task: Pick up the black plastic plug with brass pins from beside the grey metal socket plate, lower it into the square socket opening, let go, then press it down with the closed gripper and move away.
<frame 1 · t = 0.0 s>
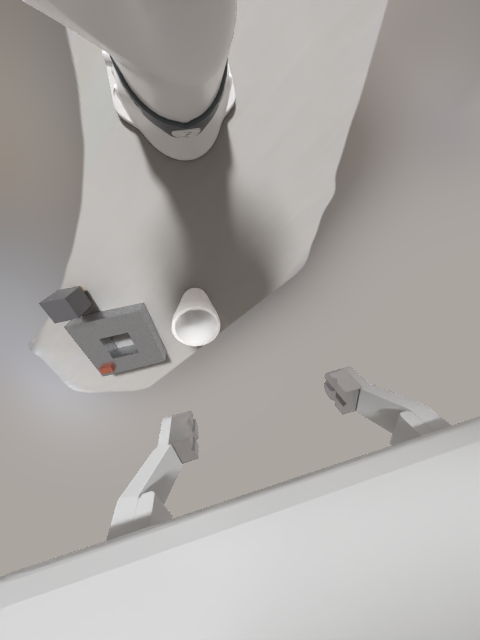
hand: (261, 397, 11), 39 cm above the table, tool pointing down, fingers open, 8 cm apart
socket: (124, 336, 50), on the table
plug: (78, 294, 42), on the table
foam cup: (195, 298, 49), on the table
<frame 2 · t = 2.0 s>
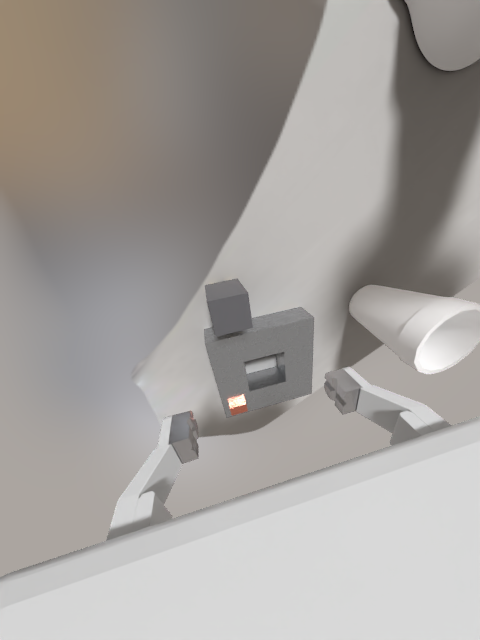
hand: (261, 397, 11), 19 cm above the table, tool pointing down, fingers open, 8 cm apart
socket: (259, 357, 34), on the table
plug: (223, 293, 28), on the table
foam cup: (364, 301, 34), on the table
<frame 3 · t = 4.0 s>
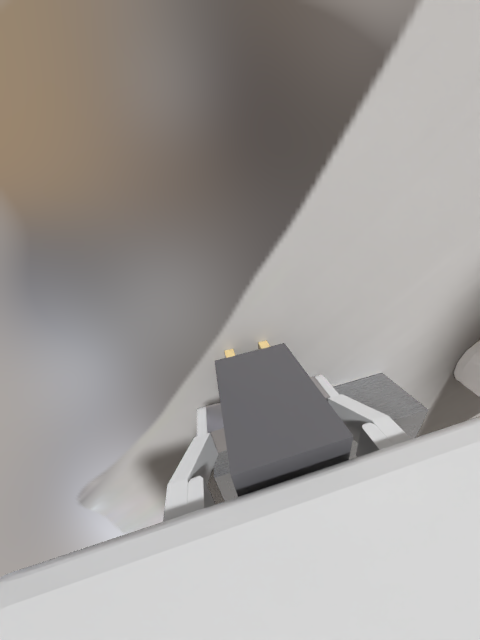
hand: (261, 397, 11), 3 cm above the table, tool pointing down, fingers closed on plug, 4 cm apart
socket: (301, 448, 21), on the table
plug: (248, 363, 14), on the table, touching gripper
foam cup: (479, 356, 20), on the table
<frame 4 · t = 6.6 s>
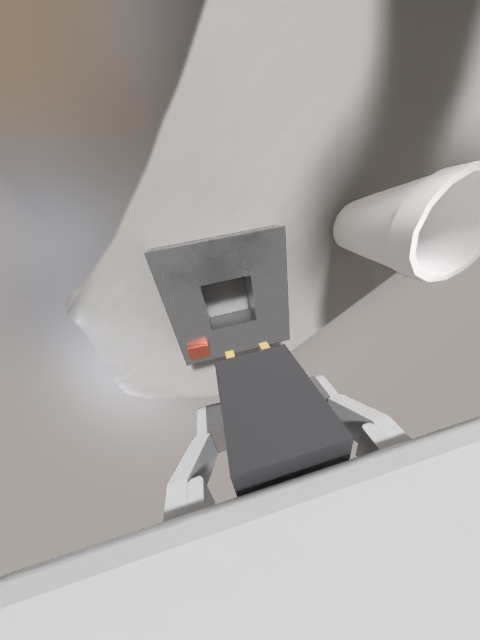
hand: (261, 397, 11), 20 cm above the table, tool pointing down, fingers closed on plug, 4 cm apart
socket: (226, 294, 29), on the table
plug: (249, 364, 14), point 17 cm above the table, touching gripper
foam cup: (351, 225, 28), on the table
when the fingers open (6 cm above the table, at t = 9.1 s): plug drops 2 cm, resting in socket.
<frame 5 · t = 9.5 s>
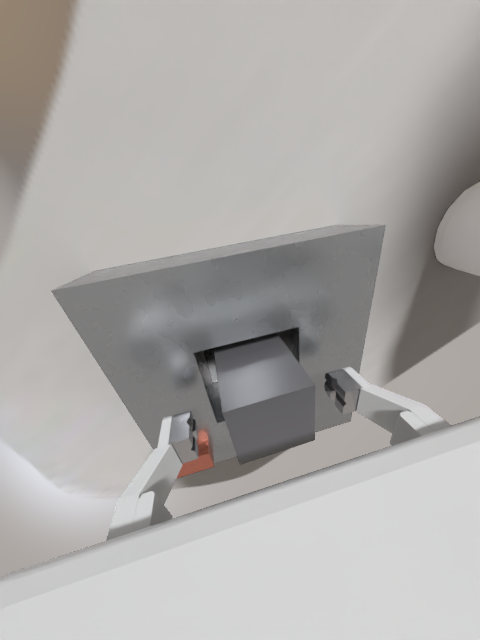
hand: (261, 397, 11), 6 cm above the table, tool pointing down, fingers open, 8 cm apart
socket: (241, 346, 16), on the table
plug: (242, 345, 16), resting in socket
foam cup: (466, 226, 16), on the table
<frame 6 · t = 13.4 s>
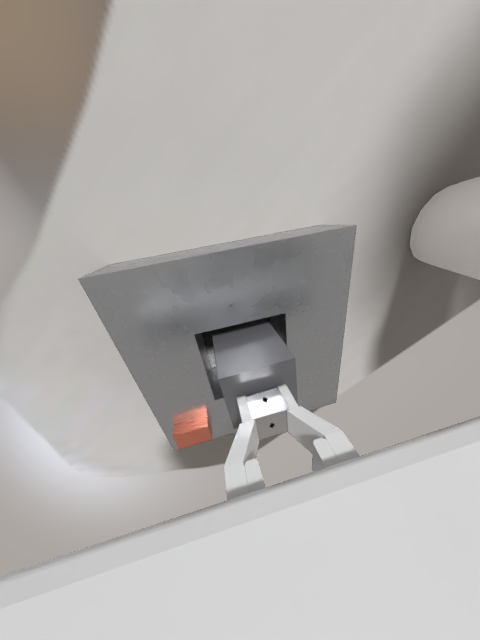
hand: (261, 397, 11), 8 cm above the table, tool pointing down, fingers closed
socket: (237, 333, 18), on the table
plug: (238, 333, 18), resting in socket
foam cup: (438, 226, 18), on the table
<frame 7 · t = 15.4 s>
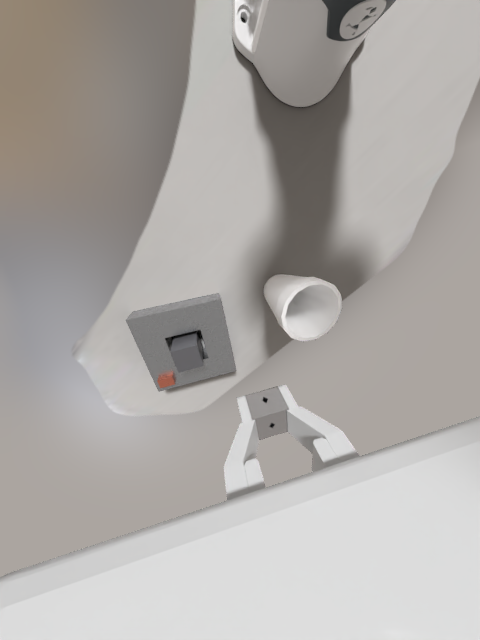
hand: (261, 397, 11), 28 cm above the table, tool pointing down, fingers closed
socket: (188, 338, 40), on the table
plug: (189, 338, 40), resting in socket
foam cup: (277, 289, 40), on the table
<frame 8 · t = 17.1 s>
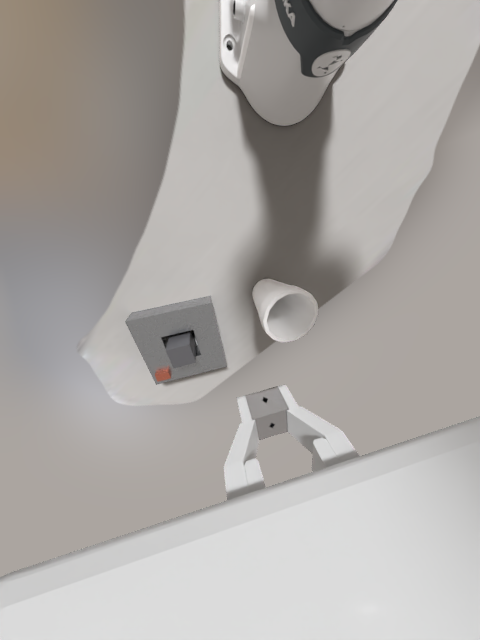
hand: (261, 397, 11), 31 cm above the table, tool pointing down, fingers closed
socket: (183, 336, 43), on the table
plug: (183, 336, 43), resting in socket
foam cup: (265, 292, 43), on the table
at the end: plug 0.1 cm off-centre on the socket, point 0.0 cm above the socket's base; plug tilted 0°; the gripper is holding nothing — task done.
